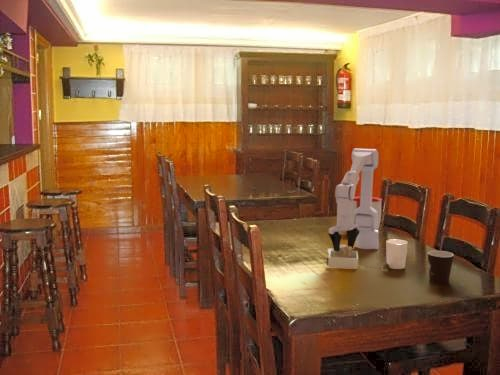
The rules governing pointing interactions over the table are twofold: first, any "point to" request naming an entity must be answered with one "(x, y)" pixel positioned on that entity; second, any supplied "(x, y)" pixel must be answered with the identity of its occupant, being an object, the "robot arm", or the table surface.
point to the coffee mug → (439, 266)
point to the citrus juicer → (375, 204)
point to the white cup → (396, 253)
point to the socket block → (344, 252)
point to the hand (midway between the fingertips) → (343, 249)
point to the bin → (343, 261)
